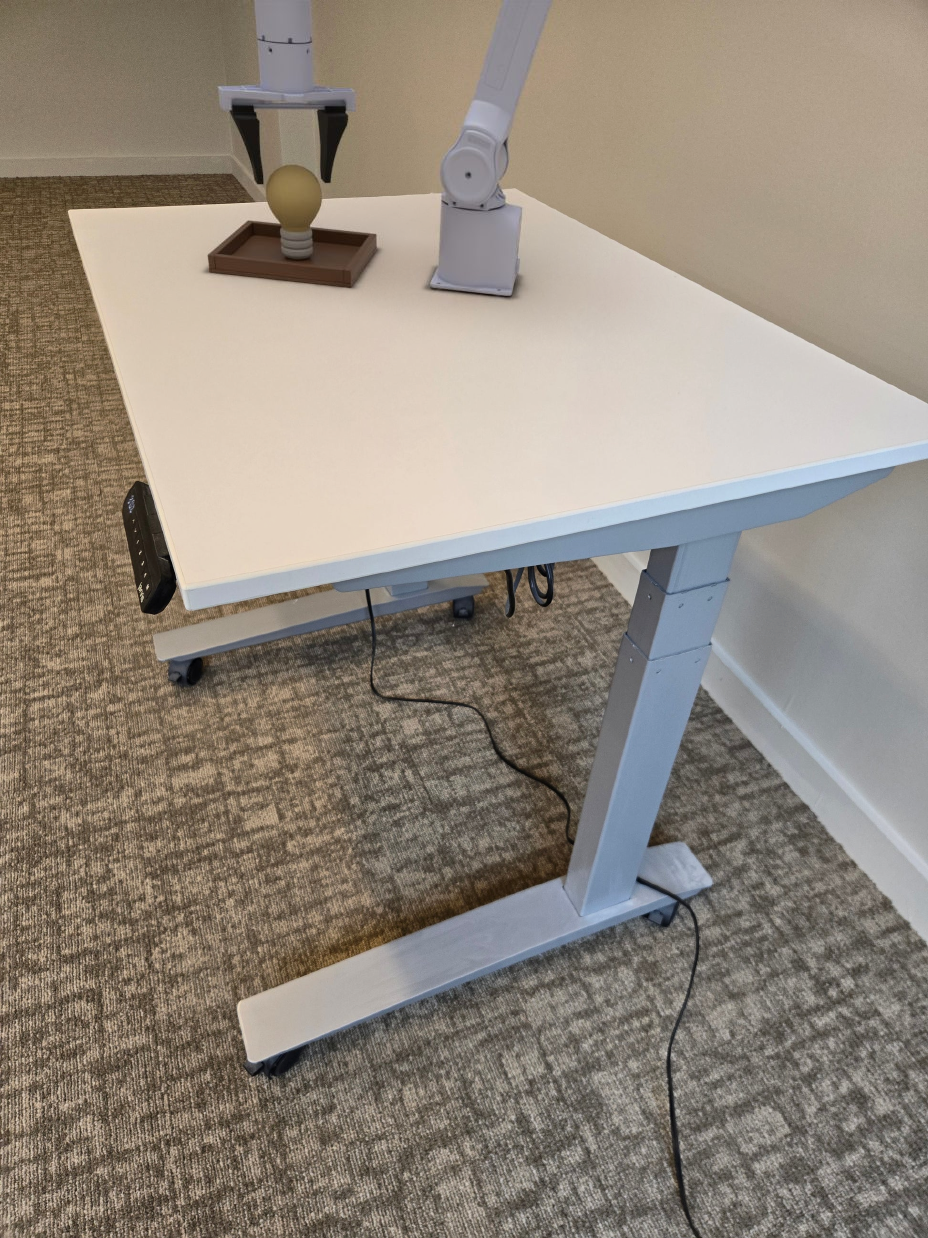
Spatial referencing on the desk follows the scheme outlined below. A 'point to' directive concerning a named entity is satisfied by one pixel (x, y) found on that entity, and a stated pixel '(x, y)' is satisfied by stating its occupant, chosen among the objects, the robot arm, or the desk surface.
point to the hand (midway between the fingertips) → (292, 181)
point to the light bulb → (294, 207)
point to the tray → (262, 257)
